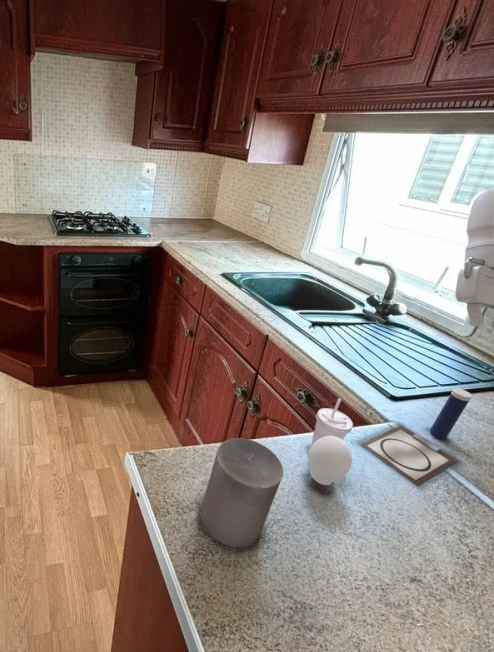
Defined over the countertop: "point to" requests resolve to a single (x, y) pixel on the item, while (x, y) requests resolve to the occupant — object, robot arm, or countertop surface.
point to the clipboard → (409, 454)
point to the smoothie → (331, 423)
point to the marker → (450, 413)
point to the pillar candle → (240, 492)
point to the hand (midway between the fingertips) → (487, 328)
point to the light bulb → (328, 462)
